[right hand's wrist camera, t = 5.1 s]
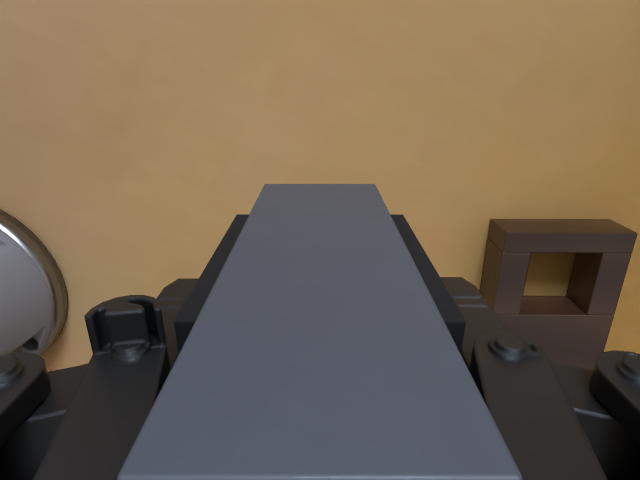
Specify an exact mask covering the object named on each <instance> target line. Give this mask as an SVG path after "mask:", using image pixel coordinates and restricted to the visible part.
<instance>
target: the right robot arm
mask: <svg viewBox="0 0 640 480" xmlns="http://www.w3.org/2000/svg"><path fill="white" fill-rule="evenodd" d="M248 217H249V215H236V217H235V219H234V220H233V222H232V224H231V226H230V227H229V229H228V231H227V232H226V234H225V236H224V237H223V239H222V241H221V242H220V244H219V246H218V247H217V249H216V251H215V252H214V254H213V256H212V258H211V259H210V261H209V263H208V264H207V266H206V268H205V269H204V271H203V273H202V274H201V276H200V278H199V279H177V280H176V281H174V282H173V283H171V284H169V285H168V286H166V287H165V288H164V289H163V290H162V292H161V293H160V294H159V296H158V297H157V299H155V298H154V297H150V296H145V295H129V296H123V297H117V298H114V299H111V300H108V301H105V302H102V303H101V304H99V305H97V306H95V307H94V308H92V309H91V310H90V311H89V312H88V313H87V314H86V315H85V316H84V317H85V321H86V325H87V330H88V334H89V338H90V343H91V347H92V351H93V356H92V358H91V360H90V362H89V363H88V364H84V365H80V366H76V367H71V368H66V369H61V370H56V371H50V372H47V368H46V365H45V361H44V359H43V358H42V357H40V355H41V354H42V353H43V352H44V351H45V350H46V349H47V348H48V347H49V346H50V345H51V344H52V343H53V342H54V340H55V339H56V338H57V336H58V335H59V333H60V332H61V330H62V327H63V325H64V322H65V319H66V314H67V293H66V287H65V283H64V280H63V277H62V274H61V272H60V269H59V267H58V265H57V263H56V262H55V260H54V258H53V257H52V255H51V253H50V252H49V251H48V249H47V248H46V247H45V245H44V244H43V243H42V242H41V241H40V240H39V238H38V237H37V236H36V235H35V234H34V233H33V232H32V231H31V230H29V229H28V228H27V227H26V226H25V225H24V224H22V223H21V222H20V221H18V220H17V219H15V218H14V217H12V216H11V215H9V214H8V213H6V212H4V211H2V210H1V209H0V480H117V477H118V474H119V472H120V470H121V468H122V466H123V464H124V462H125V460H126V458H127V456H128V454H129V452H130V450H131V448H132V446H133V444H134V442H135V440H136V438H137V436H138V434H139V432H140V430H141V428H142V426H143V424H144V423H145V421H146V419H147V417H148V415H149V413H150V411H151V409H152V407H153V405H154V403H155V401H156V399H157V397H158V395H159V393H160V391H161V389H162V387H163V385H164V383H165V381H166V379H167V377H168V375H169V373H170V371H171V369H172V367H173V365H174V363H175V361H176V359H177V357H178V355H179V353H180V351H181V349H182V347H183V345H184V343H185V341H186V339H187V337H188V335H189V333H190V331H191V329H192V327H193V325H194V324H195V322H196V320H197V318H198V316H199V314H200V312H201V310H202V308H203V306H204V304H205V302H206V300H207V298H208V296H209V294H210V292H211V290H212V288H213V286H214V284H215V282H216V280H217V278H218V276H219V274H220V272H221V270H222V268H223V266H224V264H225V262H226V260H227V258H228V256H229V254H230V252H231V250H232V248H233V246H234V244H235V242H236V240H237V238H238V236H239V234H240V232H241V230H242V228H243V226H244V225H245V223H246V221H247V219H248ZM391 217H392V219H393V221H394V223H395V225H396V227H397V229H398V231H399V233H400V235H401V237H402V239H403V241H404V243H405V245H406V247H407V249H408V251H409V253H410V255H411V257H412V259H413V261H414V263H415V265H416V267H417V269H418V271H419V273H420V275H421V277H422V279H423V281H424V283H425V285H426V287H427V289H428V291H429V293H430V295H431V297H432V299H433V301H434V303H435V305H436V307H437V308H438V310H439V312H440V314H441V316H442V318H443V320H444V322H445V324H446V326H447V328H448V330H449V332H450V334H451V336H452V338H453V340H454V342H455V344H456V346H457V348H458V350H459V352H460V354H461V356H462V358H463V360H464V362H465V364H466V366H467V368H468V370H469V372H470V374H471V376H472V378H473V380H474V382H475V384H476V386H477V388H478V390H479V392H480V394H481V396H482V398H483V400H484V402H485V404H486V406H487V408H488V410H489V412H490V414H491V416H492V418H493V420H494V422H495V424H496V426H497V427H498V429H499V431H500V433H501V435H502V437H503V439H504V441H505V443H506V445H507V447H508V449H509V451H510V453H511V455H512V457H513V459H514V461H515V463H516V465H517V467H518V469H519V471H520V473H521V475H522V478H523V480H640V354H636V353H634V352H625V351H608V352H602V353H601V354H600V355H599V356H597V357H596V360H595V364H594V367H593V370H589V369H584V368H579V367H574V366H568V365H563V364H559V363H555V362H551V361H550V359H549V357H548V355H547V353H546V352H545V351H544V349H543V348H542V347H541V346H540V345H539V344H537V343H536V342H534V341H533V340H531V339H530V338H527V337H525V336H522V335H520V334H517V333H513V332H509V331H508V330H507V328H506V327H505V326H504V324H503V323H502V322H501V320H500V319H499V317H498V316H497V315H496V313H495V312H494V311H493V309H492V308H491V307H489V304H488V303H487V301H486V300H485V299H483V296H482V294H481V293H480V292H479V290H478V289H477V288H476V286H474V285H473V284H471V283H470V282H468V281H466V280H465V279H463V278H462V277H439V275H438V273H437V272H436V270H435V268H434V266H433V265H432V263H431V261H430V260H429V258H428V256H427V255H426V253H425V251H424V250H423V248H422V246H421V245H420V243H419V241H418V240H417V238H416V236H415V234H414V233H413V231H412V229H411V228H410V226H409V224H408V223H407V221H406V219H405V218H404V216H403V215H391Z"/></svg>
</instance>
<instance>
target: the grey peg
mask: <svg viewBox="0 0 640 480" xmlns="http://www.w3.org/2000/svg"><path fill="white" fill-rule="evenodd" d="M117 480H523V478H522V475H521V473H520V471H519V469H518V467H517V465H516V463H515V461H514V459H513V457H512V455H511V453H510V451H509V449H508V447H507V445H506V443H505V441H504V439H503V437H502V435H501V433H500V431H499V429H498V427H497V426H496V424H495V422H494V420H493V418H492V416H491V414H490V412H489V410H488V408H487V406H486V404H485V402H484V400H483V398H482V396H481V394H480V392H479V390H478V388H477V386H476V384H475V382H474V380H473V378H472V376H471V374H470V372H469V370H468V368H467V366H466V364H465V362H464V360H463V358H462V356H461V354H460V352H459V350H458V348H457V346H456V344H455V342H454V340H453V338H452V336H451V334H450V332H449V330H448V328H447V326H446V324H445V322H444V320H443V318H442V316H441V314H440V312H439V310H438V308H437V307H436V305H435V303H434V301H433V299H432V297H431V295H430V293H429V291H428V289H427V287H426V285H425V283H424V281H423V279H422V277H421V275H420V273H419V271H418V269H417V267H416V265H415V263H414V261H413V259H412V257H411V255H410V253H409V251H408V249H407V247H406V245H405V243H404V241H403V239H402V237H401V235H400V233H399V231H398V229H397V227H396V225H395V223H394V221H393V219H392V217H391V215H390V213H389V211H388V209H387V207H386V205H385V203H384V201H383V199H382V197H381V195H380V193H379V191H378V189H377V188H376V186H375V184H265V185H264V187H263V189H262V191H261V193H260V195H259V197H258V199H257V201H256V203H255V205H254V207H253V209H252V211H251V213H250V215H249V217H248V219H247V221H246V223H245V225H244V226H243V228H242V230H241V232H240V234H239V236H238V238H237V240H236V242H235V244H234V246H233V248H232V250H231V252H230V254H229V256H228V258H227V260H226V262H225V264H224V266H223V268H222V270H221V272H220V274H219V276H218V278H217V280H216V282H215V284H214V286H213V288H212V290H211V292H210V294H209V296H208V298H207V300H206V302H205V304H204V306H203V308H202V310H201V312H200V314H199V316H198V318H197V320H196V322H195V324H194V325H193V327H192V329H191V331H190V333H189V335H188V337H187V339H186V341H185V343H184V345H183V347H182V349H181V351H180V353H179V355H178V357H177V359H176V361H175V363H174V365H173V367H172V369H171V371H170V373H169V375H168V377H167V379H166V381H165V383H164V385H163V387H162V389H161V391H160V393H159V395H158V397H157V399H156V401H155V403H154V405H153V407H152V409H151V411H150V413H149V415H148V417H147V419H146V421H145V423H144V424H143V426H142V428H141V430H140V432H139V434H138V436H137V438H136V440H135V442H134V444H133V446H132V448H131V450H130V452H129V454H128V456H127V458H126V460H125V462H124V464H123V466H122V468H121V470H120V472H119V474H118V477H117Z"/></svg>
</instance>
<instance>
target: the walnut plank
mask: <svg viewBox="0 0 640 480" xmlns="http://www.w3.org/2000/svg"><path fill="white" fill-rule="evenodd" d="M636 237H637V233H636V232H634V231H632V230H630V229H628V228H626V227H624V226H622V225H620V224H618V223H616V222H614V221H612V220H590V219H491V220H490V227H489V233H488V240H487V247H486V253H485V260H484V266H483V273H482V279H481V286H480V293H481V294H482V296H483V299H485V300H486V301H487V303H488V304H489V307H491V308H492V309H493V311H494V312H495V313H496V315H497V316H498V317H499V319H500V320H501V322H502V323H503V324H504V326H505V327H506V328H507V330H508V331H509V332H513V333H517V334H520V335H522V336H525V337H527V338H530V339H531V340H533V341H534V342H536V343H537V344H539V345H540V346H541V347H542V348H543V349H544V351H545V352H546V353H547V355H548V357H549V359H550V361H551V362H555V363H559V364H563V365H568V366H574V367H579V368H584V369H589V370H593V367H594V364H595V360H596V357H597V356H599V355H600V354H601V353H602V352H604V348H605V345H606V341H607V338H608V334H609V331H610V327H611V324H612V320H613V317H614V316H613V315H614V313H615V310H616V306H617V303H618V299H619V296H620V292H621V289H622V285H623V282H624V278H625V275H626V271H627V268H628V264H629V261H630V257H631V253H632V251H633V247H634V244H635V240H636ZM531 252H557V253H576V258H575V262H574V266H573V270H572V275H571V279H570V283H569V287H568V291H567V296H523V292H524V286H525V281H526V276H527V271H528V266H529V261H530V255H531Z"/></svg>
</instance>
